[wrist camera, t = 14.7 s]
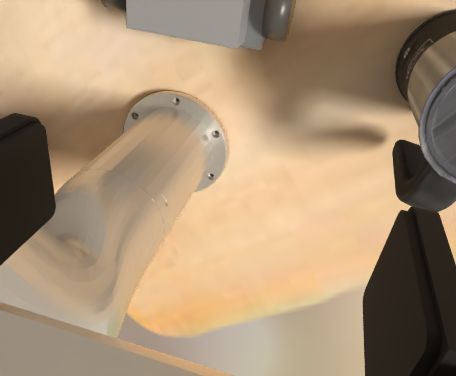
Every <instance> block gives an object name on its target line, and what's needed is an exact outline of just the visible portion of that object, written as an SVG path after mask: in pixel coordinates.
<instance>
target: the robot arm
mask: <svg viewBox="0 0 456 376" xmlns="http://www.w3.org/2000/svg"><path fill="white" fill-rule="evenodd" d="M177 98H178V99H179V101H178V100H177ZM216 131H218V132H219V133H217V132H216ZM227 158H228V140H227V137H226V133H225V130H224V128H223V126H222V124H221V122H220V120H219V119H218V118H217V116H216V115H215V114H214V112H213V111H212V110H211V109H210V108H209V107H208V106H207V105H205V104H204V103H202V102H201V101H199V100H198V99H196V98H194V97H192V96H190V95H188V94H185V93H181V92H177V91H161V92H155V93H153V94H150V95H148V96H146V97H145V98H143V99H141V100H140V101H139V102H138V103H137V104H135V105H134V106H133V108H132V109H131V110H130V111H129V113H128V115H127V118H126V120H125V124H124V130H123V134H122V135H121V136H120V137H119V138H118V139H116V140H115V141H114V142H113V143H112V144H111V145H109V146H108V147H107V148H106V149H105V150H104V151H102V152H101V153H100V154H99V155H98V156H97V157H95V158H94V159H93V160H92V161H91V162H90V163H88V164H87V165H86V166H85V167H84V168H82V169H81V170H80V171H79V172H78V173H77V174H75V175H74V176H73V177H72V178H71V179H69V180H68V181H67V182H66V183H65V184H64V185H63V186H62V187H61V188H60V189H59V190H58V191H57V193H56V194H55V196H54V188H53V181H52V174H51V166H50V159H49V152H48V144H47V137H46V130H45V128H44V126H43V125H41V123H40V121H39V120H38V119H37V118H35V117H31V116H26V115H22V114H17V113H14V114H11V115H9V116H7V117H5V118H3V119H1V120H0V376H233V375H230V374H227V373H224V372H220V371H217V370H214V369H211V368H208V367H205V366H202V365H199V364H195V363H192V362H189V361H186V360H183V359H180V358H177V357H174V356H170V355H167V354H164V353H161V352H158V351H155V350H152V349H148V348H145V347H142V346H139V345H136V344H133V343H130V342H126V341H123V340H120V339H117V337H118V334H119V331H120V328H121V325H122V323H123V320H124V317H125V314H126V312H127V309H128V306H129V304H130V301H131V299H132V297H133V295H134V292H135V290H136V288H137V286H138V284H139V282H140V280H141V278H142V276H143V275H144V273H145V271H146V270H147V268H148V266H149V264H150V263H151V261H152V259H153V258H154V256H155V254H156V253H157V251H158V250H159V248H160V246H161V245H162V243H163V241H164V240H165V238H166V237H167V235H168V233H169V232H170V230H171V229H172V227H173V225H174V224H175V222H176V220H177V219H178V217H179V216H180V214H181V212H182V211H183V209H184V208H185V206H186V204H187V203H188V201H189V199H190V198H191V196H192V195H193V193H194V192H197V191H201V190H203V189H205V188H207V187H209V186H210V185H211V184H213V183H214V182H215V181H216V180H217V179H218V177H219V176H220V175H221V173H222V171H223V170H224V167H225V165H226V162H227ZM363 326H364V356H365V376H456V264H455V261H454V258H453V255H452V252H451V249H450V246H449V243H448V240H447V237H446V234H445V231H444V227H443V224H442V221H441V218H440V215H439V213H438V212H435V211H431V210H426V209H422V208H418V207H414V206H412V207H410V209H409V210H408V211H404V210H401V211H400V212H399V214H398V216H397V218H396V220H395V223H394V225H393V227H392V230H391V232H390V234H389V236H388V239H387V241H386V243H385V246H384V248H383V250H382V252H381V255H380V257H379V259H378V262H377V264H376V266H375V268H374V271H373V273H372V275H371V278H370V280H369V282H368V284H367V287H366V289H365V292H364V296H363Z"/></svg>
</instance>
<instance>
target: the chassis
mask: <svg viewBox="0 0 456 376" xmlns="http://www.w3.org/2000/svg"><path fill="white" fill-rule="evenodd" d="M101 1H102V3H103V5H104V6H105V7H106V8H108V9H114V10H119V11H125V12H126V25H127V28H130V29H135V30H140V31H146V32H151V33H156V34H161V35H166V36H172V37H177V38H182V39H187V40H192V41H198V42H203V43H208V44H213V45H219V46H224V47H229V48H234V49H238V48H239V47H245V48H250V49H256V50H261V49H262V48H263V46H264V43H265V38H270V39H276V40H281V41H286V39H287V36H288V33H289V30H290V26H291V22H292V17H293V13H294V8H295V3H296V0H101Z"/></svg>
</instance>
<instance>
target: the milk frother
mask: <svg viewBox="0 0 456 376" xmlns="http://www.w3.org/2000/svg"><path fill="white" fill-rule="evenodd" d="M395 74H396V82H397V85H398V88H399V90H400V93H401V94H402V96H403V97H404V98H405V100H406V101H407V102H408V103H409V104H410V107H411V110H412V113H413V115H414V118H415V120H416V122H417V125H418V127H419V140H420V146H419V145H417V144H414V143H411V142H408V141H406V140H399V141H397V142H396V143H395V146H394V148H393V152H392V155H393V166H394V178H395V188H396V195H397V197H398V198H399V199H400V200H401V201H402V202H404V203H406V204H408V205H410V206H414V207H418V208H422V209H426V210H431V211H435V212H439V211H441V210H444V209H446V208H447V207H449V206H450V205H452V204H453V203H454V202H455V201H456V10H455V11H449V12H446V13H442V14H440V15H437V16H435V17H433V18H431V19H429V20H428V21H426V22H425V23H423V24H422V25H420V26H419V27H418V28H417V29H416V30H415V31H414V32H413V33H412V34H411V35H410V36H409V38H408V39H407V40H406V42H405V43H404V45H403V47H402V49H401V51H400V53H399V56H398V58H397V63H396V72H395Z"/></svg>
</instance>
